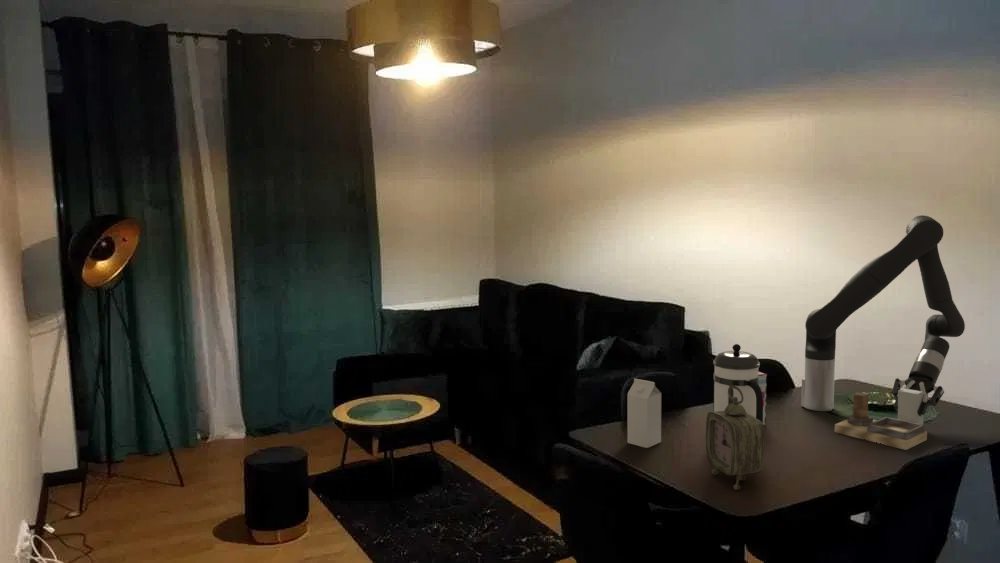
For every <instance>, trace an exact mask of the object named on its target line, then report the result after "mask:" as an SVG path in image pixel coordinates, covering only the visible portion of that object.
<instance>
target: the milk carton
mask: <svg viewBox="0 0 1000 563" xmlns="http://www.w3.org/2000/svg"><path fill="white" fill-rule="evenodd" d="M626 401H627V403H626V404H627V408H626V409H627V410H626V411H627V416H626V417H627V444H631V445H634V446H639V447H641V448H645V449H648V448H651V447H654V446H656V445H658V444H660V443H661V442H662V392H661V391H660V390H659V389H658V388H657V387H656V383H655V382H654V381H650V380H644V379H639V378H634V379H633V383H632V385H631V387H630V389H629V390H628V392H627V400H626Z"/></svg>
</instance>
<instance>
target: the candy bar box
mask: <svg viewBox="0 0 1000 563" xmlns="http://www.w3.org/2000/svg"><path fill="white" fill-rule="evenodd" d="M758 375H759V387H760V389H761V391H762V396H763V424H764V426H766V424H767V421H766V420H767V388H768V387H767V385H768V374H767V373H764V372H761V371H759V370H758Z"/></svg>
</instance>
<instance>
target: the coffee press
mask: <svg viewBox="0 0 1000 563" xmlns="http://www.w3.org/2000/svg"><path fill="white" fill-rule="evenodd" d="M731 348H732V350H727V351H722V352H720V353H718V354H717V355H716V357H715V358H714V359H713V363H712V364H713V365H714V372H713V412H717V411H725V408H726V407H727V406H728V405H729V404H732V403H733V401H732V400H731V399H730V398H729V396H728V388H729V387H730V386H736V387H738V388H739V389H740V390H741V391H742V393H743V402H742V403H741V405H742V406H743V407H744V409H745V411H746V413H747V414H749V415H751V416H753V417H755V418H756V419H758V420H760V421H761V422H762V423H763V396H762V391H761V389H760V387H759V375H758V371H759V368H760V365H761V363H760V361H759V359H758V357H757V356H756V355H754V354H752V353H751V352H748V351H742V350H741V349H742V347H741V345H740V344H738V343H735V344H733V345H732V347H731ZM730 395H731V397H732V398H734V397H737V398H738V401H741V399H742V398H741V395H740V393H739V391H738V390H736V389H734V388H731V389H730Z"/></svg>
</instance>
